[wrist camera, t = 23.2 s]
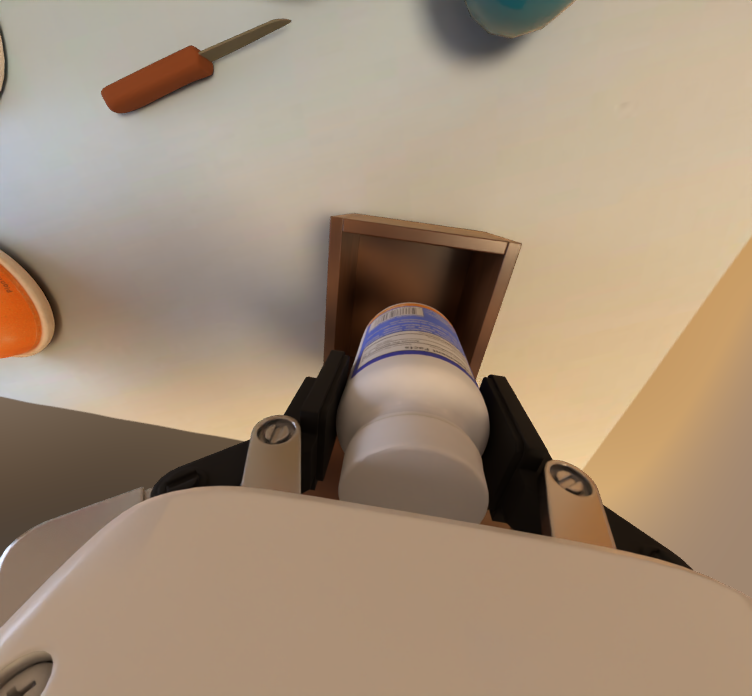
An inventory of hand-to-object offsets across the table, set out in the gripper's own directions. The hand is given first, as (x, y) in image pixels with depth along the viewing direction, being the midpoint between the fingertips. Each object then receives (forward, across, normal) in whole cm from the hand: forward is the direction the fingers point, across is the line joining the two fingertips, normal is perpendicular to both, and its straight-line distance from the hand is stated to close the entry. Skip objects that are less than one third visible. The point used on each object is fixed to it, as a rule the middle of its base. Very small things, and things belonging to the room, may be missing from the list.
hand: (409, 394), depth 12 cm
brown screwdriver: (+18, +18, -14) cm, 29 cm away
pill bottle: (+5, 0, 0) cm, 5 cm away
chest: (+18, 0, +2) cm, 18 cm away
